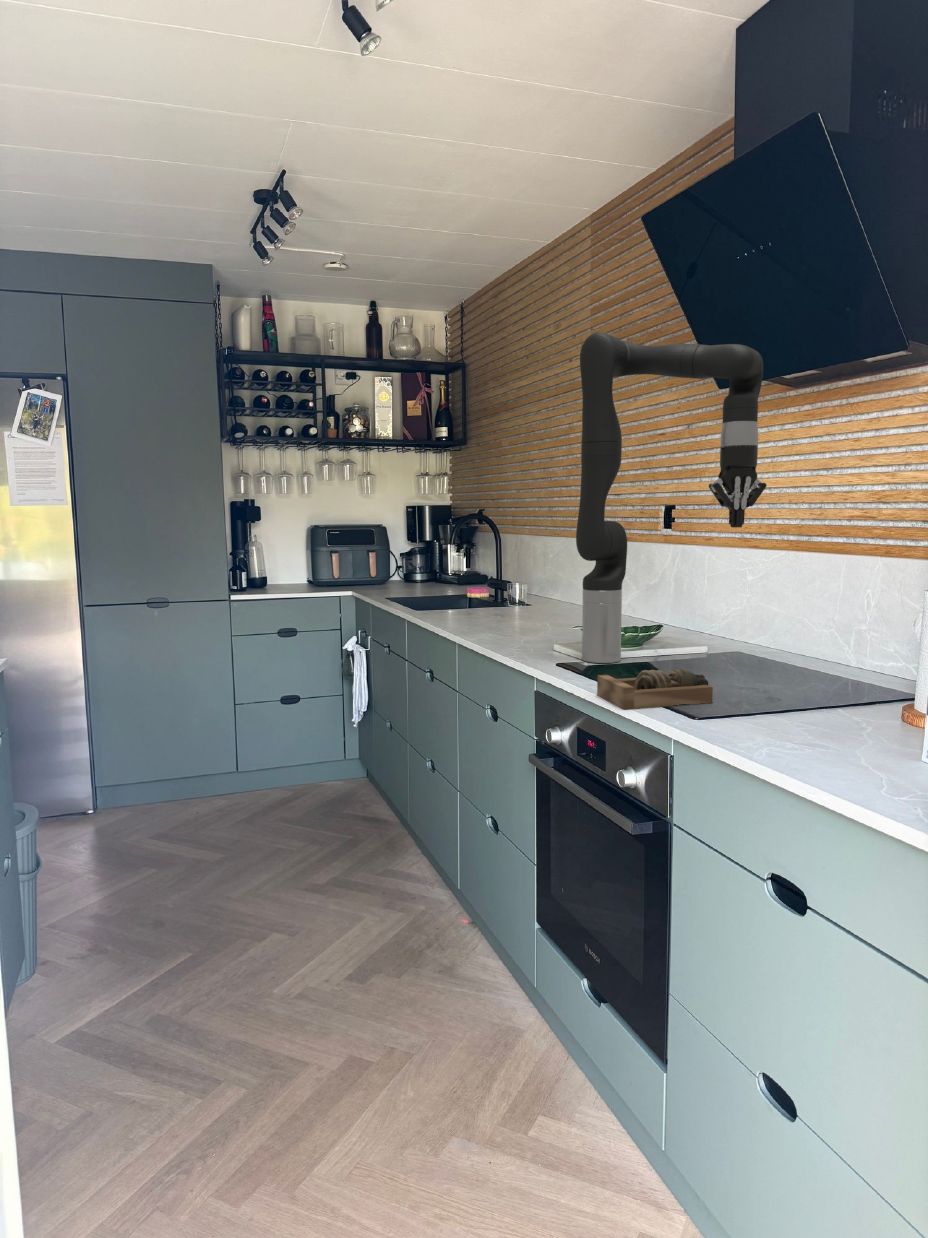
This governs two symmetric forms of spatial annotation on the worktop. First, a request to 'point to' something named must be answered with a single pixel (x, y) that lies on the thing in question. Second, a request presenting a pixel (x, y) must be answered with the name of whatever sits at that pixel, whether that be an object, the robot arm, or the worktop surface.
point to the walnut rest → (649, 694)
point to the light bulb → (668, 679)
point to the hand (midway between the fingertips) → (736, 527)
